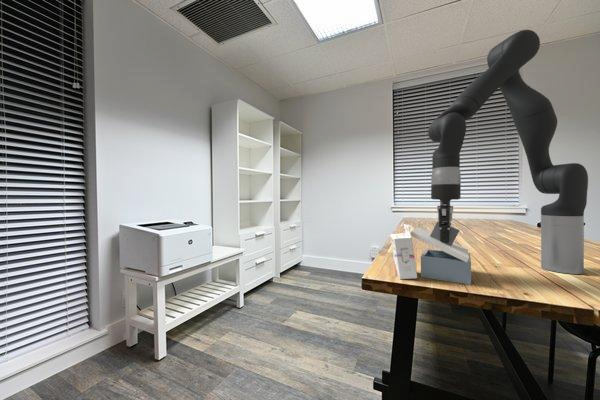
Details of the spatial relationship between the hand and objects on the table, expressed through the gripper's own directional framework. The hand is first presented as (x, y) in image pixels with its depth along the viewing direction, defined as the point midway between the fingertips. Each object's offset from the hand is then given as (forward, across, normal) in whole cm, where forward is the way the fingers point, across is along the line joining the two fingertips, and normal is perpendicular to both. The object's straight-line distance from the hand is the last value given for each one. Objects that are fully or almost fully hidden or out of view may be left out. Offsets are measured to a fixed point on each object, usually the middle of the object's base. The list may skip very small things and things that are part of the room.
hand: (445, 241), depth 73 cm
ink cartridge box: (+10, -6, +10) cm, 15 cm away
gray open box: (+10, 0, 0) cm, 10 cm away
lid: (+1, 0, +2) cm, 2 cm away
